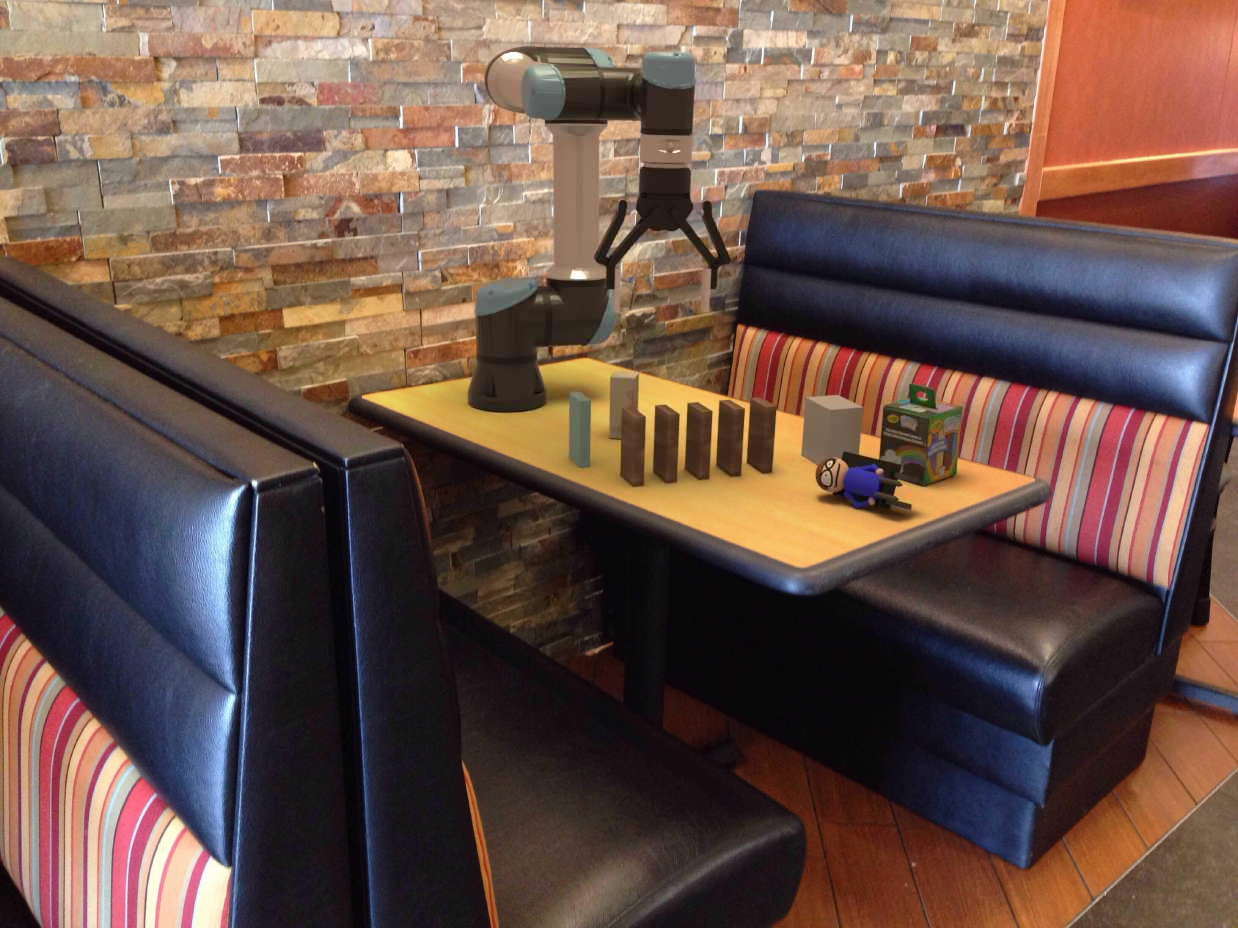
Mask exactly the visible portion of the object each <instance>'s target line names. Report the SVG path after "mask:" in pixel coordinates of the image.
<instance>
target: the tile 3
mask: <svg viewBox="0 0 1238 928" xmlns="http://www.w3.org/2000/svg"><path fill="white" fill-rule="evenodd" d="M686 405H687V406H686V412H687V413H686V429H685V452H684V453H685V454H684V455H685V457H684V470H685V471H686V472H688V473H689V474H690V475H691V476H693V477H694V478H696V479H697V480H698V481H704V480H710V474H711V473H710V472H711V469H710V468H711V453H712V451H711V450H712V434H713V433H712V431H713V412H714V411H713V410H711V409H710V408H708V407H707V406H705V405H704V404H702V403H701V402H698V401H695V402H693V401H692V402H687V404H686Z"/></svg>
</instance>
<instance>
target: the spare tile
mask: <svg viewBox="0 0 1238 928" xmlns="http://www.w3.org/2000/svg"><path fill="white" fill-rule="evenodd" d="M568 397H569V398H568V400H569V401H568V402H569V403H568V404H569V405H568V410H569V411H568V415H569V416H568V420H569V421H568V422H569V423H568V458H569V460H571V461H572V462H573V463H574V465H576V466H577V467H578V468H591V433H592V432H591V431H592V430H591V428H592V427H591V425H592V422H591V419H592V417H591V416H592V415H591V414H592V400H591V399H590V398H589V397H587V396H586V395H585V394H584V393H582V392H581V391H572V392H569V396H568Z"/></svg>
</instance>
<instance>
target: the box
mask: <svg viewBox="0 0 1238 928" xmlns="http://www.w3.org/2000/svg"><path fill="white" fill-rule="evenodd" d="M609 379H610V380H609V381H610V382H609V385H610V386H609V419H608V420H609V425H608V427H609V428H608V431H609V432H608V438H609V439H619V440H621V423H622V408H627V407H633V408H635V409H636V410H637V411H639V389H640V388H639V386H640V372H638V371H628V370H627V371H626V370H625V371H624V370H616V371H614V373H612V374H611V376H610V378H609Z"/></svg>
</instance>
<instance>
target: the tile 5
mask: <svg viewBox="0 0 1238 928" xmlns="http://www.w3.org/2000/svg"><path fill="white" fill-rule="evenodd" d="M748 415H749V416H748V417H749V418H748V432H747V434H748V435H747V448H746V450H747V451H746V464H747V465H748V466H750V467H752V469H755V470H756V471H758V472H759V473H761V474H764V475H765V474H771V473H773V466H774V453H775V450H774V449H775V438H776V435H775V434H776V422H777V421H776V420H777V405H775V404H774V403H772V402H770V401H768V400H766V399H764V397H763V398H762V397H761V396H760V397H750V400H749V414H748Z"/></svg>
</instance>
